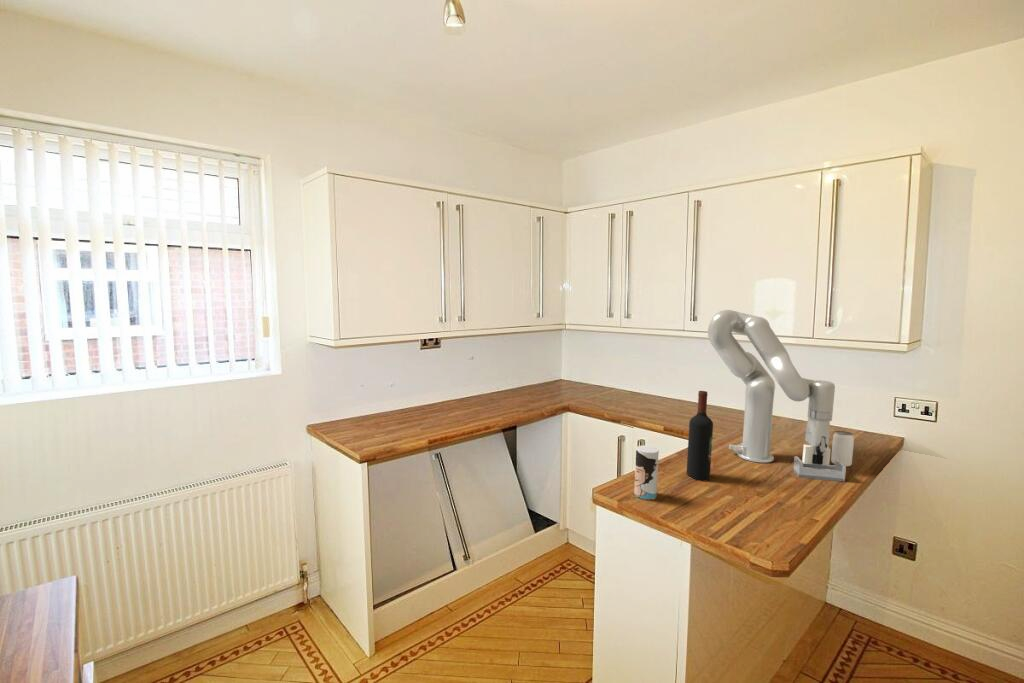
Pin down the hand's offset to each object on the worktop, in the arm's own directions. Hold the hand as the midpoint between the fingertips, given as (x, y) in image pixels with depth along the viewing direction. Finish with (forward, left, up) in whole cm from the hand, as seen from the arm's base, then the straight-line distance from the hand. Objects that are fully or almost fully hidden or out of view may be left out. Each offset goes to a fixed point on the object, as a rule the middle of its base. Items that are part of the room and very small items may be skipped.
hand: (815, 463), depth 175 cm
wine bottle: (-43, -22, -2) cm, 48 cm away
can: (+11, +7, -2) cm, 14 cm away
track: (-2, -9, -2) cm, 9 cm away
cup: (-61, -43, -2) cm, 74 cm away
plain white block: (0, 0, -2) cm, 2 cm away
